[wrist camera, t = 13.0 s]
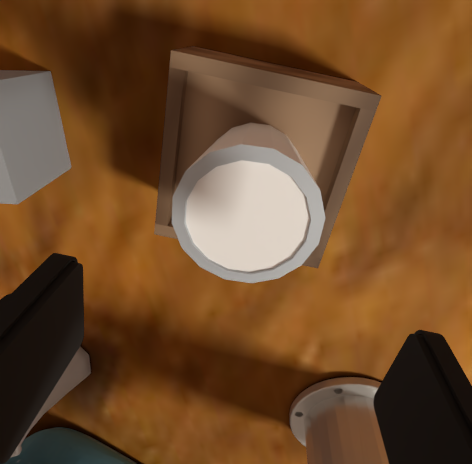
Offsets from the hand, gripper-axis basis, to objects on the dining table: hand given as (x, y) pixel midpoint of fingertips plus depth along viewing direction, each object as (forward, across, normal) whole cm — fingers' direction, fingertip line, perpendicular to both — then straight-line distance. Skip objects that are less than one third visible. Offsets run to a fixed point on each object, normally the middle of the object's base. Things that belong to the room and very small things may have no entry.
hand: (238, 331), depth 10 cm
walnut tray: (+19, 0, 0) cm, 19 cm away
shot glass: (+14, 0, 0) cm, 14 cm away
